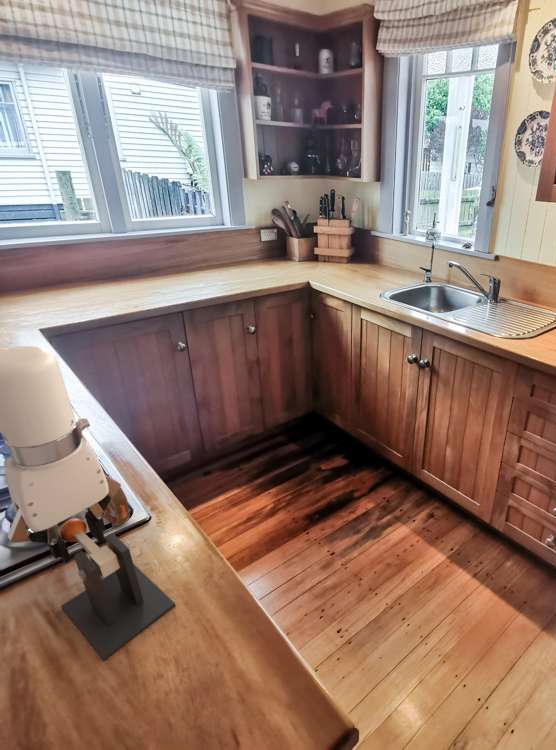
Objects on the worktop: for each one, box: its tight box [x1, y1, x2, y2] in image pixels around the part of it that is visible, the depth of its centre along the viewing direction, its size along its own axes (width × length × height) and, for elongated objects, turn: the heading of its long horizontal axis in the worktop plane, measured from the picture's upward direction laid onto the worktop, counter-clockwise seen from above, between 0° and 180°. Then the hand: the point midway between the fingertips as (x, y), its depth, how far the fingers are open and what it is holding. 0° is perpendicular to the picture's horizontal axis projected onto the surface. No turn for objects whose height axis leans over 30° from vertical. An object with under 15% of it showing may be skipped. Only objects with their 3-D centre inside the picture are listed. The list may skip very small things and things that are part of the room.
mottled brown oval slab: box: [103, 473, 131, 529], centre depth 81 cm, size 15×3×8 cm, turn 55°
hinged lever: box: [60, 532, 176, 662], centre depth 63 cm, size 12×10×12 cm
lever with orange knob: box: [59, 517, 120, 579], centre depth 64 cm, size 12×3×3 cm, turn 53°
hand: (81, 546), depth 67 cm, fingers open, 4 cm apart
